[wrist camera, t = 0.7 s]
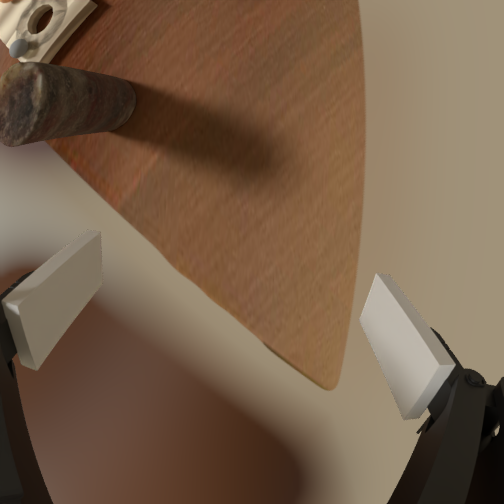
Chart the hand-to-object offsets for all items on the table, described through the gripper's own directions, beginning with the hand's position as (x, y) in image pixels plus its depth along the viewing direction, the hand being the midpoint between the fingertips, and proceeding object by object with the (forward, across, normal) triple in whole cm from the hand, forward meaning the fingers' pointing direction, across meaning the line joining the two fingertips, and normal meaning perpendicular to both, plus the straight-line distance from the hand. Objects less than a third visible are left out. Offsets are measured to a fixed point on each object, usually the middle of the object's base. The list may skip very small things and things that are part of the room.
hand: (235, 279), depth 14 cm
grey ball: (+23, -35, +17) cm, 45 cm away
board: (+27, -37, +25) cm, 52 cm away
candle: (+27, -19, +8) cm, 34 cm away
